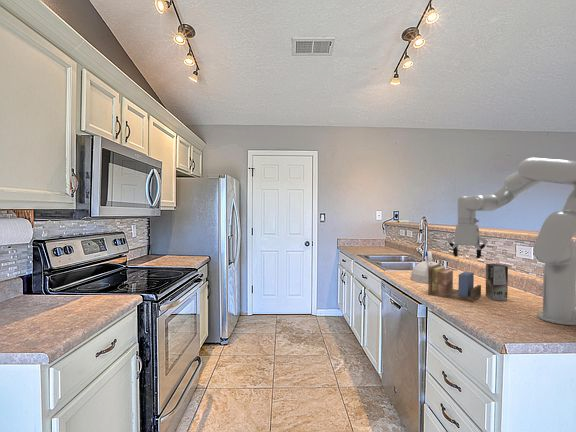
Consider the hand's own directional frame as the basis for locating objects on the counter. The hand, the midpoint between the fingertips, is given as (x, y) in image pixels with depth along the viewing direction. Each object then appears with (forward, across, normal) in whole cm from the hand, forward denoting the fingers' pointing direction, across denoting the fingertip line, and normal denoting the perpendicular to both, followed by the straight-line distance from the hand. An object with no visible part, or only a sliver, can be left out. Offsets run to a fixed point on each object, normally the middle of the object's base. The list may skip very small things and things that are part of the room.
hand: (466, 257), depth 154 cm
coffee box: (+20, -10, -9) cm, 24 cm away
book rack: (+19, +6, 0) cm, 20 cm away
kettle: (+19, +28, -27) cm, 43 cm away
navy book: (+18, +1, 0) cm, 18 cm away
